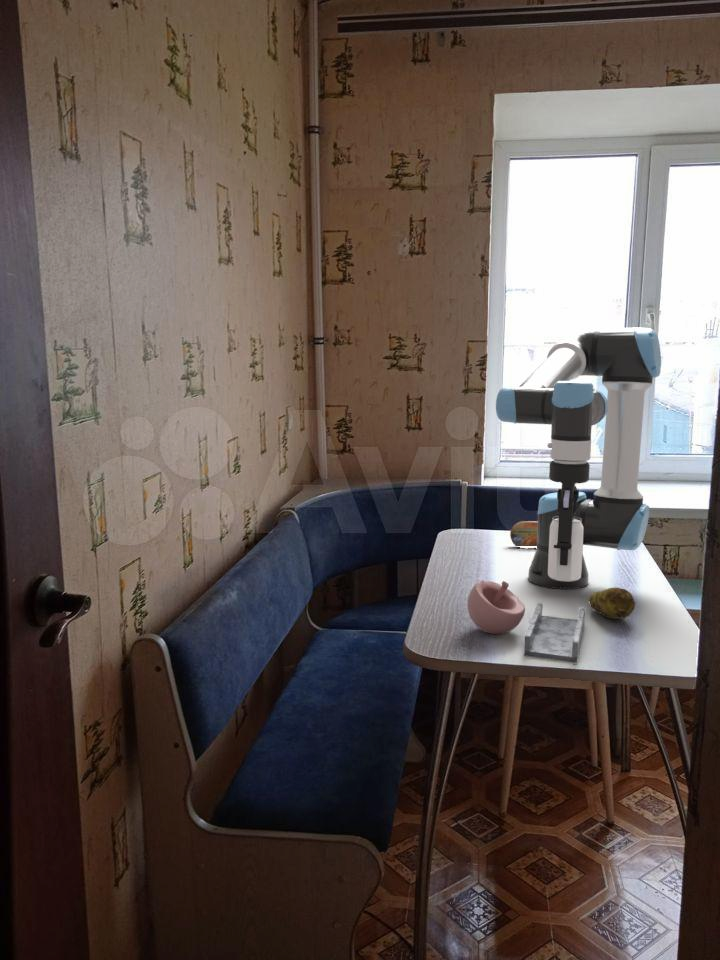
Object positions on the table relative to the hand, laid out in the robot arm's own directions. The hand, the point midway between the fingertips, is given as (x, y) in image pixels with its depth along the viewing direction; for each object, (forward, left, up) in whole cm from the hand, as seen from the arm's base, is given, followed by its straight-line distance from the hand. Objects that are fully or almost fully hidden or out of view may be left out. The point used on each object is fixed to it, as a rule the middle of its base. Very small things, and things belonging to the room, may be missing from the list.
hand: (564, 575), depth 153 cm
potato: (-20, +9, -15) cm, 27 cm away
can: (0, 0, -1) cm, 1 cm away
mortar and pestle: (-3, -14, -15) cm, 21 cm away
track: (-3, -1, -15) cm, 15 cm away
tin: (-79, -15, -15) cm, 82 cm away
